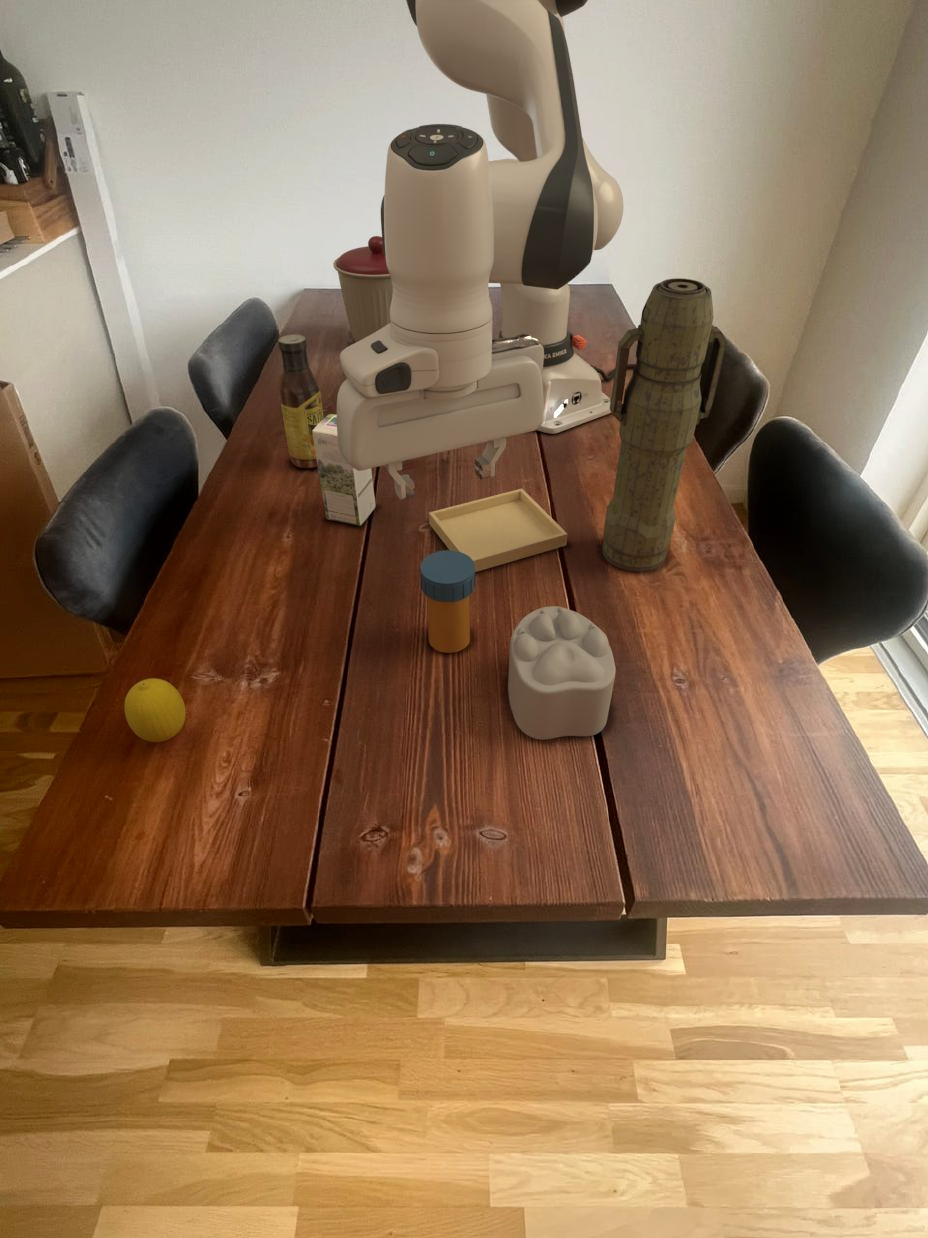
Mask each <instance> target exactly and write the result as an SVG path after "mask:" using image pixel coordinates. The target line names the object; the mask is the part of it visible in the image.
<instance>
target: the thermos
mask: <svg viewBox="0 0 928 1238" xmlns="http://www.w3.org/2000/svg"><path fill="white" fill-rule="evenodd" d="M713 323H714V306H713V296H712V290H711V288H710V287H709V286H707V285H705V283H703V282H701V281H699V280H695V279H692V278H691V279H690V278H681V277H680V278H679V277H677V278H668V279H665V280H662V281H661V282H658V283H656V284H654V286H653V287H652V289H651V291H650V293H649V295H648V297H647V299H646V301H645V303H644V306H643V309H642V311H641V317H640V323H639V324H638V325H637V327H636V328H635V327H634V328H631V329H628V330H627V331H626V332H625V334H624V335H623V336H622V337H621V339H620V340H619V341H618V344H617V353H616V359H615V367H614V369H615V374H614V376H613V383H612V389H611V397H610V400H611V403H610V411H611V413H610V414H612V416H613V417H614V418H615V419H616V420H617V421H618V422H619V429H618V434H619V438H620V447H619V454H618V462H617V466H616V467H617V469H616V473H615V479H614V486H613V494H612V498H611V500H610V502H609V503H608V505H607V507H606V512H605V520H604V526H603V543H602V555H603V557H604V559H605V560H606V561H607V562H608V563H610V564H611V565H612V566H614V567H616V568H618V569H621V570H624V571H628V572H636V573H641V572H650V571H653V570H656V569H658V568H660V567H661V566H662V565H664V563H665V561H666V559H667V551H668V548H669V546H670V545H671V543H672V537H673V533H674V527H675V524H676V519H677V516H676V512H675V503H676V499H677V494H678V490H679V486H680V481H681V476H682V471H683V467H684V462H685V459H686V458H685V457H686V453H687V449H688V447H689V446H690V445H691V444H692V441H693V440H694V435H695V430H696V426H697V425H699V424H700V421H701V419H707V418H709V415H710V414H711V413H710V412H711V410H712V406H713V403H714V400H715V396H716V391H717V388H718V382H719V378H720V374H721V370H722V366H723V362H724V361H723V360H724V357H725V352H726V348H727V344H728V342H727V340H726V338H725V336H724V334H723V332H722V330H721V329H720V328H719V327H718V326H713ZM635 342H637V344H636V350H635V358H636V361H635V363H634V364H635V366H634V368H632V375H631V377H630V379H629V381H628V383H627V385H626V378H627V370H628V368H627V365H628V364H629V359H630V358H629V357H630V351H631V347H632V346H633V345H634V343H635ZM709 343H713V344H712V349H711V353H710V358H709V363H708V366H707V372H706V376H705V381H704V385H703V390H702V392H701V378H702V371H701V370H702V365H703V364H704V362H705V359H706V355H707V350H708V346H709ZM625 385H626V387H625ZM701 393H702V394H701Z"/></svg>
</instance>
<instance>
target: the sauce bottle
mask: <svg viewBox="0 0 928 1238" xmlns="http://www.w3.org/2000/svg"><path fill="white" fill-rule="evenodd" d="M277 343H278V349H279V350H280V354H281V359H282V368H283V372H282V374H281V375H280V380H279V383H278V390H279V396H280V406H281V412H282V418H283V424H284V425H283V426H284V432H285V437H286V443H287V449H288V453H289V454H288V455H289V456H290V461H291V463H292V465H293V466H294V467H296V468H299V469H307V470H309V469H310V470H311V469H314V468H315V469H316V468H318V464H317V458H316V452H315V446H314V440H313V433H312V432H313V431H312V430H313V429H314V428H315V427H316V426H317V425H318V424H319V423H320V422H321V421H322V420H323V419H324V418H325V417H324V409H323V402H322V401H323V400H322V394H321V389H320V388H321V387H320V386H319V384H318V382H317V380H316V378H315V375H314V374H313V372H312V370H311V368H310V363H309V361H308V352H307V348H308V345H307V339H306V337H305V336H304V335H301V334H287V335H283V336H281V337H279V338H278V339H277Z"/></svg>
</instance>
